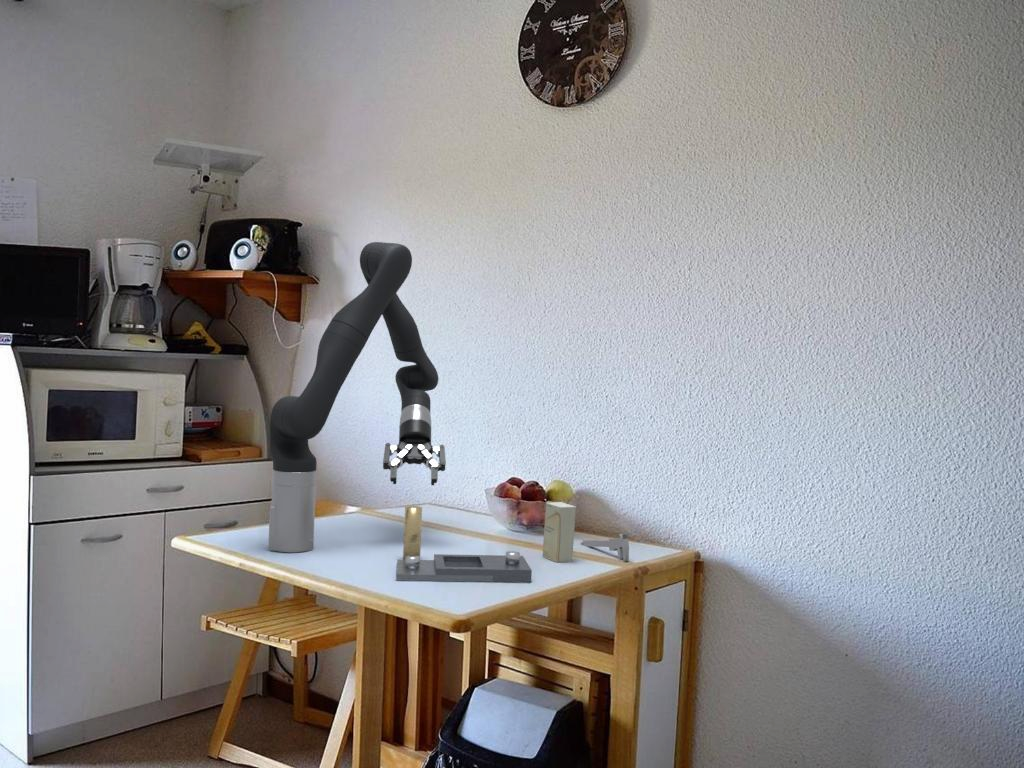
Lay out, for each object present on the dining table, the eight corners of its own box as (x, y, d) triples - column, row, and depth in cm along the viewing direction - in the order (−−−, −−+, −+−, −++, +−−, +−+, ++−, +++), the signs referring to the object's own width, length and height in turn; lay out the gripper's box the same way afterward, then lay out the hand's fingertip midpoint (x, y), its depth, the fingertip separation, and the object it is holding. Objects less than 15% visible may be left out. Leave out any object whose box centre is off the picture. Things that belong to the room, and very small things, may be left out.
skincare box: (541, 556, 197) (544, 502, 197) (559, 555, 199) (561, 501, 199) (556, 562, 191) (559, 506, 191) (574, 561, 194) (576, 505, 193)
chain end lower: (396, 580, 170) (397, 563, 170) (397, 565, 183) (397, 549, 183) (492, 581, 172) (493, 565, 172) (486, 566, 185) (487, 551, 185)
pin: (403, 560, 187) (405, 508, 187) (403, 556, 191) (405, 505, 191) (420, 560, 188) (422, 508, 188) (419, 557, 191) (422, 506, 191)
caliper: (628, 563, 196) (630, 535, 195) (624, 563, 195) (625, 535, 195) (584, 544, 214) (585, 518, 214) (580, 545, 214) (581, 519, 214)
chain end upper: (435, 581, 171) (436, 558, 171) (433, 565, 184) (434, 544, 183) (531, 582, 173) (532, 559, 173) (522, 567, 186) (523, 546, 186)
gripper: (385, 416, 208) (382, 471, 197) (446, 418, 210) (446, 473, 198) (385, 437, 213) (381, 491, 202) (444, 439, 215) (444, 493, 204)
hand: (413, 482), depth 200 cm, fingers open, 8 cm apart
